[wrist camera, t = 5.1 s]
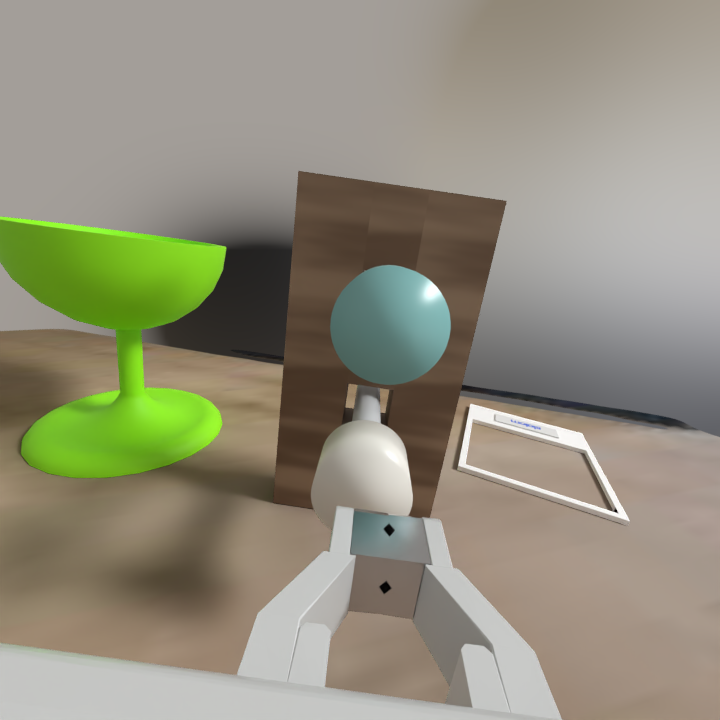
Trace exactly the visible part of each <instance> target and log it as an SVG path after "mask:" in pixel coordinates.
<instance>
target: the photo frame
mask: <svg viewBox="0 0 720 720" xmlns="http://www.w3.org/2000/svg"><path fill="white" fill-rule="evenodd" d="M472 423H476V424H479V425H483V426H487V427H490V428H494V429H497V430H501V431H504V432H508V433H512V434H515V435H519V436H522V437H526V438H529V439H533V440H536V441H540V442H544V443H547V444H551V445H554V446H558V447H561V448H565V449H569V450H572V451H576V452H579V453H583V454H585V455H586V457H587V459H588V461H589V463H590V465H591V467H592V469H593V471H594V473H595V475H596V477H597V479H598V481H599V483H600V485H601V487H602V489H603V491H604V493H605V495H606V497H607V499H608V501H609V503H610V505H611V507H612V509H613V511H614V510H615V507H616V509H617V511H618V513H615V512H612V511H609V510H606V509H603V508H600V507H597V506H594V505H591V504H587V503H584V502H581V501H578V500H575V499H572V498H569V497H566V496H563V495H559V494H556V493H553V492H550V491H547V490H544V489H541V488H538V487H535V486H531V485H528V484H525V483H522V482H519V481H516V480H513V479H510V478H507V477H503V476H500V475H497V474H494V473H491V472H488V471H485V470H482V469H479V468H475V467H472V466H469V465H466V458H467V452H468V446H469V439H470V433H471V427H472ZM457 470H459V471H462V472H465V473H468V474H471V475H474V476H477V477H480V478H483V479H486V480H489V481H492V482H495V483H498V484H501V485H504V486H508V487H511V488H514V489H517V490H520V491H523V492H526V493H529V494H532V495H535V496H538V497H541V498H544V499H547V500H550V501H553V502H556V503H559V504H563V505H566V506H569V507H572V508H575V509H578V510H581V511H584V512H587V513H590V514H593V515H596V516H599V517H602V518H605V519H608V520H611V521H614V522H617V523H621V524H624V525H627V526H628V525H629V522H630V520H629V519H628V517H627V515H626V513H625V511H624V509H623V508H622V506H621V504H620V502H619V500H618V498H617V497H616V495H615V493H614V491H613V489H612V487H611V486H610V484H609V482H608V480H607V478H606V476H605V475H604V473H603V471H602V469H601V467H600V465H599V464H598V462H597V460H596V458H595V456H594V454H593V453H592V451H591V449H590V447H589V445H588V443H587V442H586V440H585V438H584V436H583V434H582V433H579V432H575V431H571V430H567V429H563V428H560V427H556V426H552V425H548V424H545V423H541V422H537V421H533V420H530V419H526V418H522V417H518V416H515V415H511V414H507V413H503V412H499V411H496V410H492V409H488V408H484V407H481V406H477V405H473V404H470V408H469V413H468V418H467V423H466V428H465V433H464V438H463V443H462V448H461V453H460V458H459V463H458V468H457Z"/></svg>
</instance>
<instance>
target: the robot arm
mask: <svg viewBox="0 0 720 720" xmlns="http://www.w3.org/2000/svg"><path fill="white" fill-rule="evenodd" d="M348 611H354V612H364V613H374V614H382V615H388V616H394V617H400V618H406V619H412V620H413V622H414V624H415V626H416V628H417V630H418V631H419V633H420V635H421V637H422V638H423V640H424V642H425V644H426V645H427V647H428V649H429V651H430V653H431V654H432V656H433V658H434V660H435V661H436V663H437V665H438V667H439V668H440V670H441V672H442V674H443V675H444V677H445V679H446V681H447V683H448V684H449V686H450V689H449V692H448V695H447V699H446V702H445V704H442V703H435V702H427V701H420V700H413V699H406V698H399V697H391V696H384V695H377V694H370V693H363V692H355V691H348V690H341V689H334V688H327V687H325V680H326V671H327V663H328V654H329V645H330V639H331V637H332V636H333V634H334V633H335V631H336V630H337V629H338V627H339V626H340V624H341V623H342V621H343V620H344V618H345V617H346V615H347V614H348ZM0 720H562V719H561V716H560V714H559V711H558V709H557V706H556V704H555V701H554V699H553V696H552V694H551V691H550V689H549V686H548V684H547V681H546V679H545V676H544V674H543V671H542V669H541V666H540V664H539V661H538V659H537V656H536V654H535V651H534V650H533V649H532V648H531V647H530V646H529V645H528V644H527V643H526V642H525V641H524V640H523V638H522V637H521V636H520V635H519V634H518V633H517V632H516V631H515V630H514V629H513V628H512V627H511V625H510V624H509V623H508V622H507V621H506V620H505V619H504V618H503V617H502V616H501V615H500V614H499V612H498V611H497V610H496V609H495V608H494V607H493V606H492V605H491V604H490V603H489V602H488V601H487V599H486V598H485V597H484V596H483V595H482V594H481V593H480V592H479V591H478V590H477V589H476V588H475V586H474V585H473V584H472V583H471V582H470V581H469V580H468V579H467V578H466V577H465V576H464V575H463V573H462V572H461V571H460V570H459V569H456V568H453V567H452V563H451V559H450V555H449V551H448V547H447V543H446V539H445V535H444V531H443V527H442V523H441V521H440V520H439V519H435V518H425V517H422V518H421V517H414V516H406V515H397V514H389V513H383V512H376V511H370V510H364V509H357V508H354V509H353V508H349V507H342V506H337V507H336V509H335V515H334V521H333V527H332V533H331V539H330V545H329V552H327V551H323V552H322V553H321V554H320V555H318V556H317V557H316V558H315V559H314V560H313V561H312V562H311V563H310V564H309V565H308V566H307V567H306V568H305V569H304V570H303V571H302V572H301V573H300V574H299V575H298V576H296V577H295V578H294V579H293V580H292V581H291V582H290V583H289V584H288V585H287V586H286V587H285V588H284V589H283V590H282V591H281V592H280V593H279V594H278V595H277V596H276V597H275V598H273V599H272V600H271V601H270V602H269V603H268V604H267V605H266V606H265V607H264V608H263V609H262V610H261V611H260V612H259V613H258V614H257V617H256V620H255V623H254V626H253V629H252V632H251V635H250V638H249V641H248V644H247V647H246V650H245V653H244V656H243V658H242V661H241V664H240V667H239V670H238V673H237V675H232V674H225V673H218V672H210V671H203V670H196V669H189V668H181V667H174V666H167V665H159V664H152V663H145V662H138V661H130V660H123V659H116V658H109V657H101V656H94V655H87V654H80V653H72V652H65V651H58V650H51V649H43V648H36V647H29V646H21V645H14V644H7V643H0Z"/></svg>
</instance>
